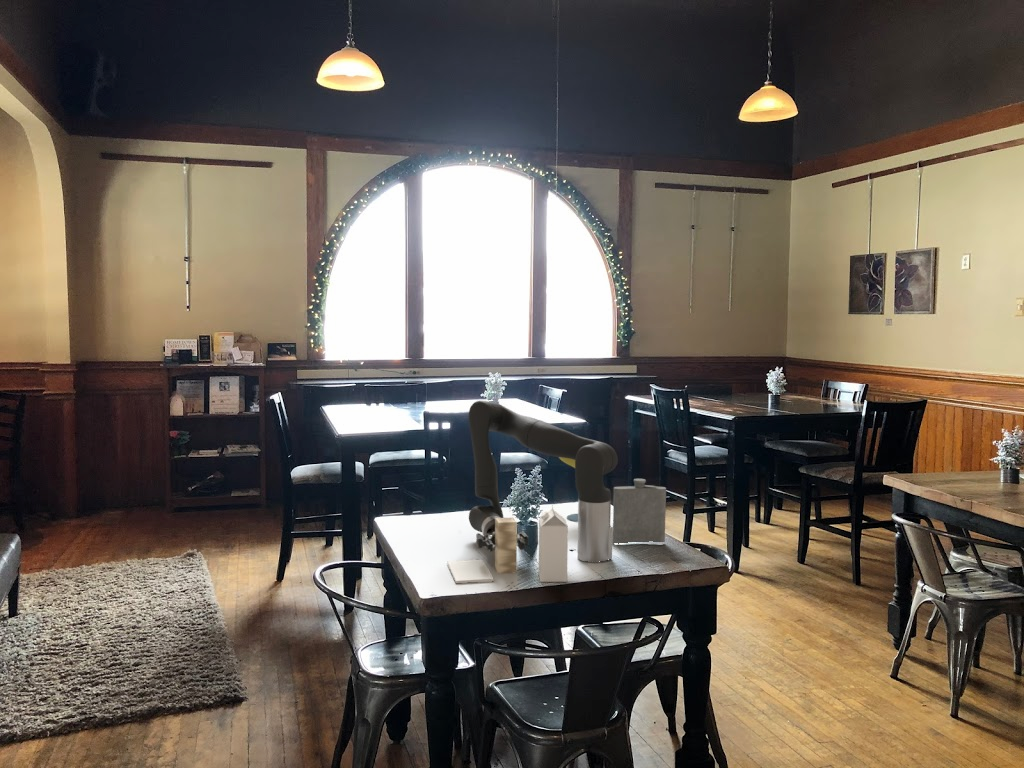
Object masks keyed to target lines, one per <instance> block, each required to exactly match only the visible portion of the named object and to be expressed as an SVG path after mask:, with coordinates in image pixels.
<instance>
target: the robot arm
mask: <svg viewBox="0 0 1024 768" xmlns="http://www.w3.org/2000/svg"><path fill="white" fill-rule="evenodd" d="M468 425H469V431H470V437H471V445H472V452H473V459H474V461H473V462H474V494H475V496H476V497H477V498H480V499H484V500H488V502H490V505H476V506H474V507H472V508H471V509H470V510H469V513H468V521H469V524H470V526H471V527H472V528H473V529H474V530H475V531H478V532H477V533H476V538H475V539H476V542H475V543H476V545H477V548H479V549H482V548H483V547H484V548H485V549H486V550H488V551H489V552H493V551H494V550H493V549H494V548H495V518H505V517H504V512H503V510H502V506H501V503H500V497H499V491H498V489H499V487H498V481H499V480H498V468H497V464H496V461H495V458H494V456H493V453H492V450H491V445H490V441H489V439H490V438H489V434H490V432H496V433H500V434H503V435H505V436H506V435H507V436H509V437H511V438H514V439H516V441H517V442H519V443H520V444H521V446H523V447H525V448H527V449H529V450H531V451H534V452H536V453H539V454H541V455H544V456H545V455H546V456H550V457H555V458H559V457H562V458H569V459H573V460H575V468H574V472H575V473H574V474H575V475H574V477H575V489H576V491H577V494H578V497H577V498H578V502H577V503H578V505H577V507H578V508H577V509H578V510H577V514H578V522H577V550H576V551H577V559H578V560H580V561H581V562H585V561H588V562H587V563H593V562H598V563H600V562H599V561H605V560H608V559H612V560H613V526H611V513H612V512H611V511H612V510H611V509H612V508H611V507H612V505H611V504H612V502H611V501H612V493H611V490H610V488H608V487H605V485H604V475H607V474H609V473H611V472H612V471H613V470H615V468H616V467H617V465H618V460H619V458H618V455H617V452H616V450H615V449H614V447H612V446H611V445H609V444H608V443H606V442H602V441H598V440H594V439H590V438H587V437H583V436H579V435H578V434H575V433H572V432H570V431H568V430H566V429H564V428H561V427H558V426H556V425H554V424H551V423H549V422H546V421H544V420H541V419H537V418H535V417H534V418H533V417H531V416H526V415H522V414H519V413H516V412H515V411H513V410H511V409H510V408H508V407H506V406H505V405H504V406H503V405H502V404H500V403H498V402H495V401H487V400H477V401H474V402H473V403H472V405H470V407H469V411H468ZM481 533H482V534H481ZM529 538H530V537H529V535H527V533H525V531H519V533H517V547H518V548H519V549H520V550H521V551H523V550H524V549H526V547H527V546H529ZM608 561H609V560H608ZM605 562H606V561H605Z"/></svg>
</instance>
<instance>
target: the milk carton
mask: <svg viewBox="0 0 1024 768" xmlns="http://www.w3.org/2000/svg"><path fill="white" fill-rule="evenodd" d="M551 505H552V504H551ZM568 529H569V527H568V523H567V521H566V519H565V518H564V517H563V516H562V515H560V514H559V513H558V512H557V511H556V510H555V508H554V505H552V506H551V509H550V510H549V511H548V512H547V511H545V512H544V513H543V512H542V514H541V516H540V519H539V520H538V577H539V582H540V583H552V582H553V583H560V582H561V583H564V582H565V583H566V582H568V550H569V549H568V548H569V547H568V545H569V544H568V541H569V540H568V539H569V538H568V537H569V533H568V532H569V530H568Z"/></svg>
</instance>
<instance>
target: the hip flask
mask: <svg viewBox="0 0 1024 768" xmlns="http://www.w3.org/2000/svg"><path fill="white" fill-rule="evenodd" d="M646 482H647V480H646V479H644V478H634V479H633V483H634V485H632V486H631V485H629V486H614V487H613V509H612V510H613V512H612V513H613V515H612V516H613V517H612V528H613V532H612V544H613V543H618V544H619V543H628V542H649V541H653V542H666V507H667V504H666V502H667V487H665V486H656V485H647V484H645V483H646Z"/></svg>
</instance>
